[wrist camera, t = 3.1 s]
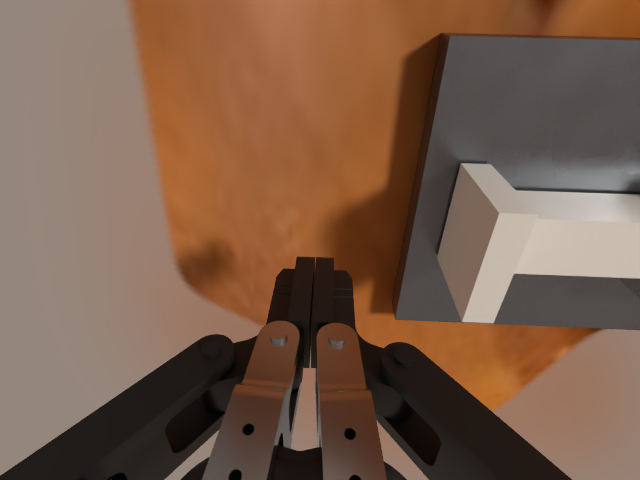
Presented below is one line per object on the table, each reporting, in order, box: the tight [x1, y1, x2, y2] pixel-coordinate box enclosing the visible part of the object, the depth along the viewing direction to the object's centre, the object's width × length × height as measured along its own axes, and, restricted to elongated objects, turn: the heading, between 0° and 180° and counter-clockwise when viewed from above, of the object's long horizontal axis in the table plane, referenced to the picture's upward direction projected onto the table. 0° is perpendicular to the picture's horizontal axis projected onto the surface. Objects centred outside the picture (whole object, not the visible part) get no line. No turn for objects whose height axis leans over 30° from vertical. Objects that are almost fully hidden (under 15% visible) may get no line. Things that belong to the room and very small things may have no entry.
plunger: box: [437, 163, 640, 323], centre depth 16 cm, size 6×13×5 cm, turn 89°
